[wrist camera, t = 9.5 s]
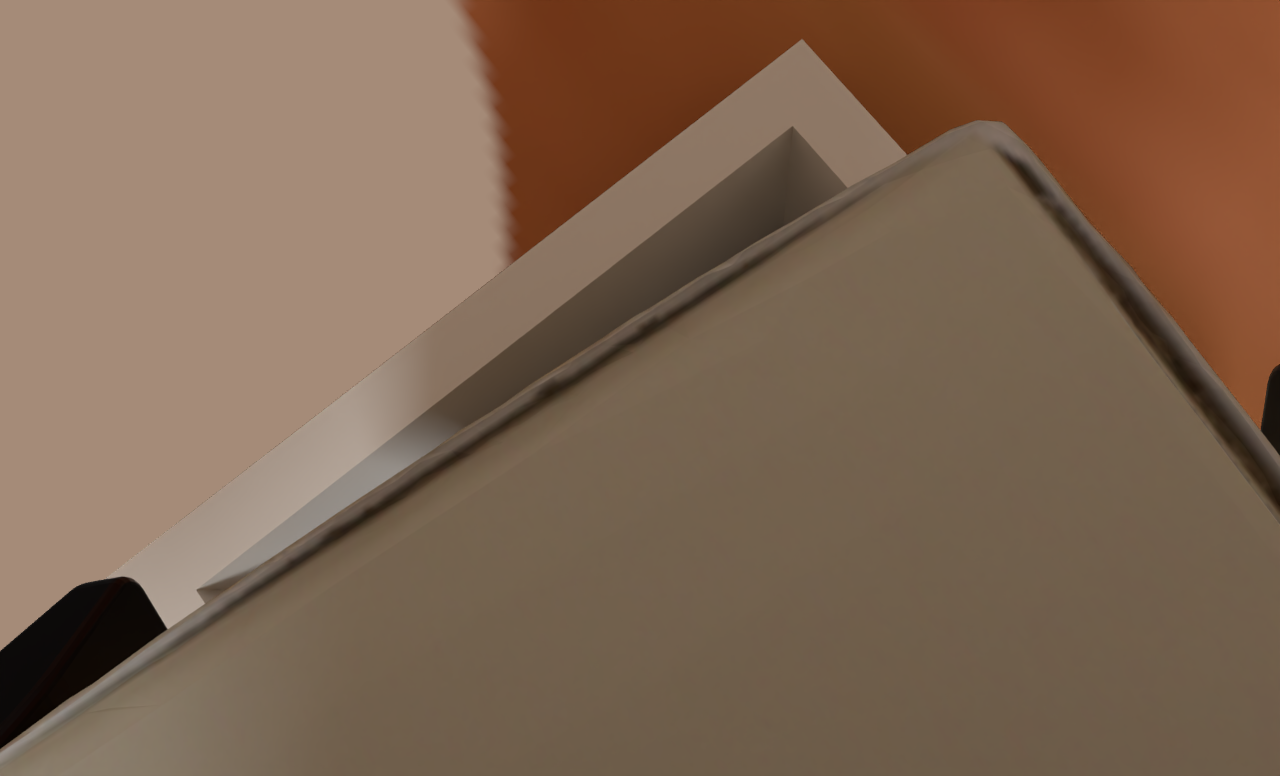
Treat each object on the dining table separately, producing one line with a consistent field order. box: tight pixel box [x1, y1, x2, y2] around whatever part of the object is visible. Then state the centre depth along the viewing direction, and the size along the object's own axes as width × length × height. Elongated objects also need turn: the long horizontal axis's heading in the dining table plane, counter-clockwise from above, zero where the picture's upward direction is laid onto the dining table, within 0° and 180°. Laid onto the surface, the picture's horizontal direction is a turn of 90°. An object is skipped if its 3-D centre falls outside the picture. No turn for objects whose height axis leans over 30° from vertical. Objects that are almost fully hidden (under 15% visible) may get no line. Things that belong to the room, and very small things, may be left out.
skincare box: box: [0, 120, 1280, 776], centre depth 10 cm, size 6×4×12 cm
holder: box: [107, 39, 907, 629], centre depth 15 cm, size 13×13×5 cm
